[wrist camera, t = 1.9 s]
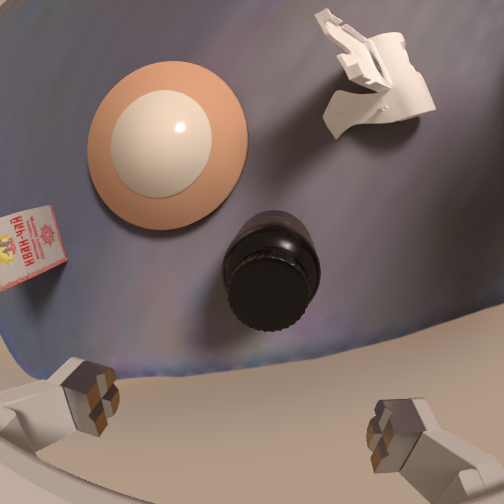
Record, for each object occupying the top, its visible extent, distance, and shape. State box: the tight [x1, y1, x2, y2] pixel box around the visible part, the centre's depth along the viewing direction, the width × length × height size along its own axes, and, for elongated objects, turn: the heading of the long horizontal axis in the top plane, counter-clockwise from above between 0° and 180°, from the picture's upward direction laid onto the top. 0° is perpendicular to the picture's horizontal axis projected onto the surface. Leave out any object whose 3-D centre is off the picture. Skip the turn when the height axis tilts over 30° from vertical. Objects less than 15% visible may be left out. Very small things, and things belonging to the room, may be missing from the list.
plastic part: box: [315, 9, 436, 140], centre depth 20 cm, size 8×10×12 cm
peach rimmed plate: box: [87, 61, 249, 230], centre depth 28 cm, size 16×16×2 cm
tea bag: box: [0, 205, 68, 292], centre depth 27 cm, size 4×7×10 cm, turn 15°
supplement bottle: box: [222, 210, 321, 332], centre depth 24 cm, size 7×7×12 cm
